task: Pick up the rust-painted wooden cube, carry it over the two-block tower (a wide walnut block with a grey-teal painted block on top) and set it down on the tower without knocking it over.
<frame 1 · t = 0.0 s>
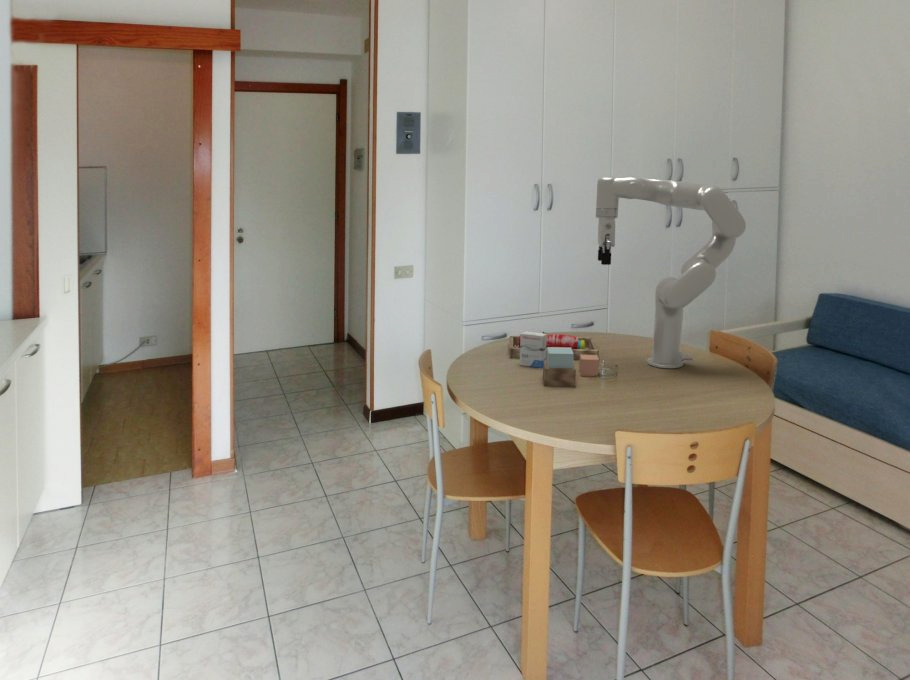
hand: (604, 262, 251), 37 cm above the table, tool pointing down, fingers open, 9 cm apart
teal block: (559, 364, 236), point 6 cm above the table
bottle cradle: (552, 352, 274), on the table
water bottle: (552, 353, 274), resting in bottle cradle
rust cube: (588, 373, 247), on the table
walnut block: (558, 382, 238), on the table
ink box: (532, 365, 257), on the table
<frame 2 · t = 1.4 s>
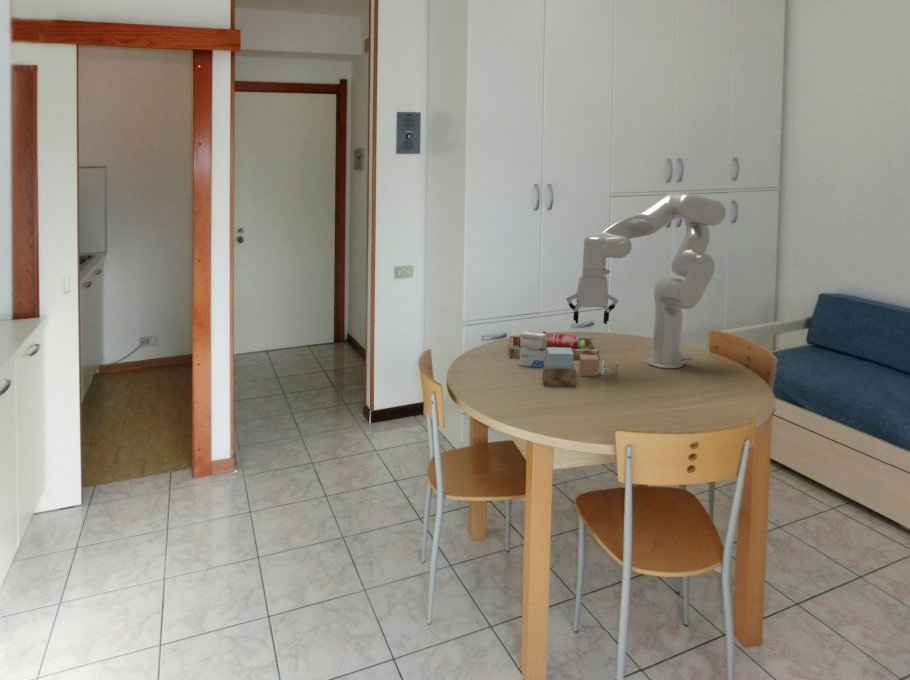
hand: (590, 322, 242), 18 cm above the table, tool pointing down, fingers open, 9 cm apart
teal block: (559, 365, 236), point 6 cm above the table, touching walnut block
walnut block: (558, 382, 238), on the table, touching teal block
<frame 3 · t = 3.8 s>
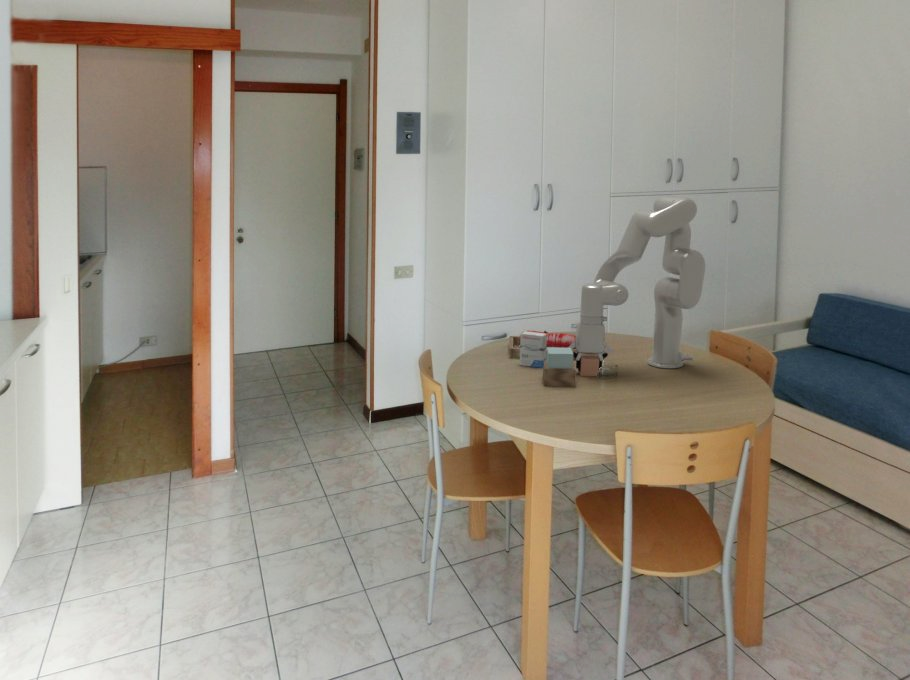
hand: (588, 370, 247), 1 cm above the table, tool pointing down, fingers closed on rust cube, 6 cm apart
water bottle: (552, 351, 276), resting in bottle cradle
rust cube: (588, 373, 247), on the table, touching gripper
everything else where it was.
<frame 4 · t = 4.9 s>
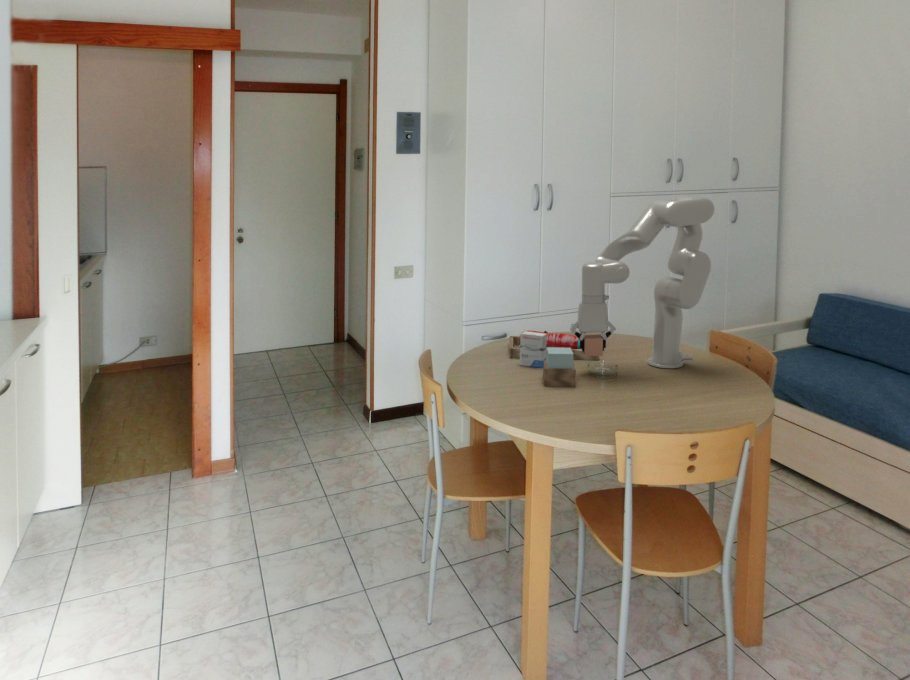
hand: (592, 349, 245), 8 cm above the table, tool pointing down, fingers closed on rust cube, 6 cm apart
rust cube: (592, 353, 245), point 7 cm above the table, touching gripper
everything else where it was.
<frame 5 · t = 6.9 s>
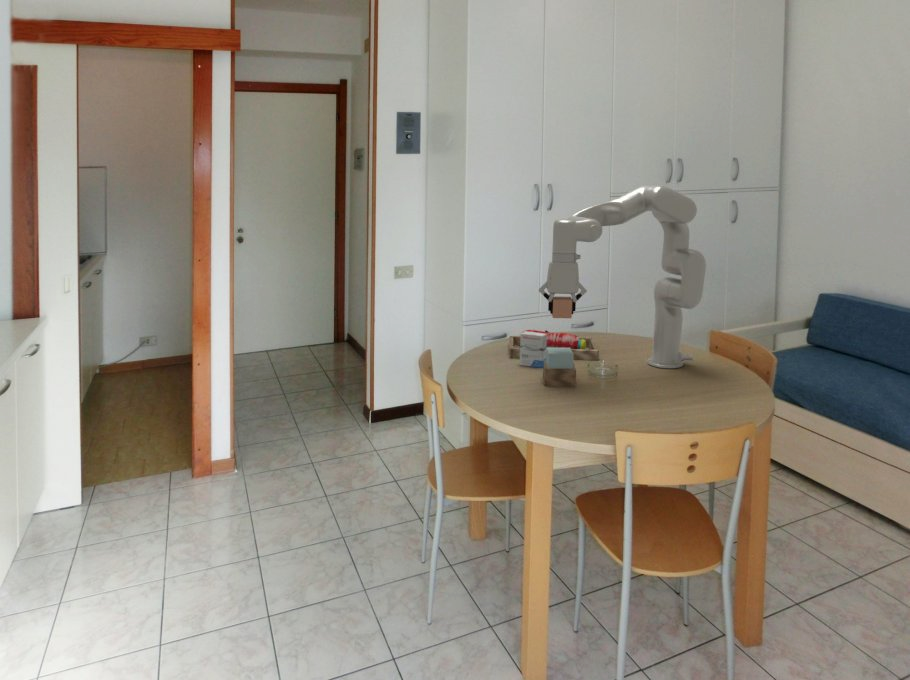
hand: (561, 312, 232), 23 cm above the table, tool pointing down, fingers closed on rust cube, 6 cm apart
water bottle: (553, 351, 276), resting in bottle cradle
rust cube: (561, 316, 232), point 22 cm above the table, touching gripper
everything else where it was.
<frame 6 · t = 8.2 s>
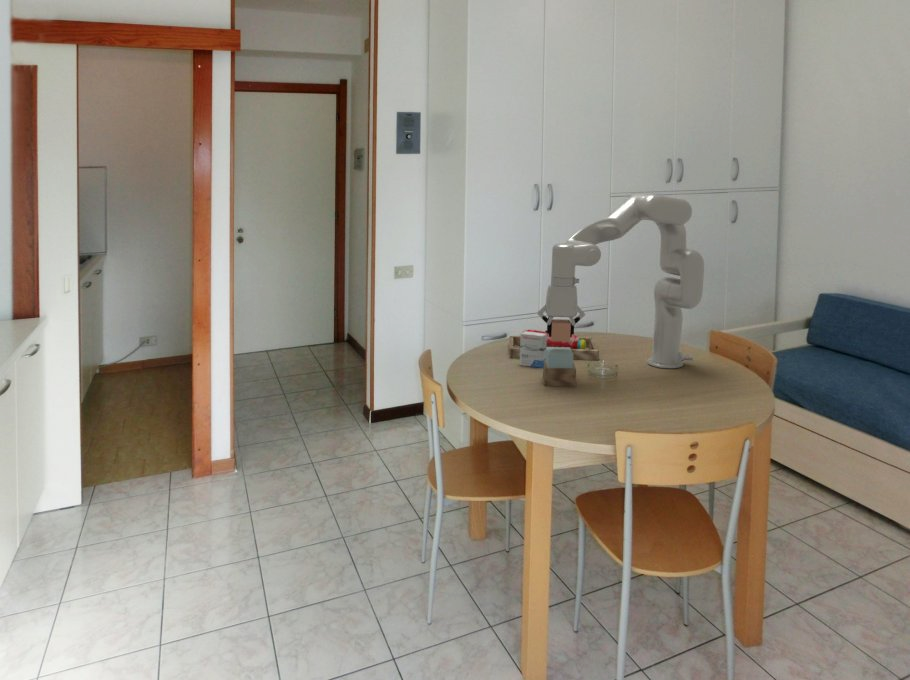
hand: (560, 335, 234), 16 cm above the table, tool pointing down, fingers closed on rust cube, 6 cm apart
water bottle: (553, 351, 276), resting in bottle cradle
rust cube: (560, 339, 234), point 15 cm above the table, touching gripper
everything else where it was.
when the fingers open (13 cm above the table, at t = 9.6 s): rust cube drops 1 cm, resting on teal block.
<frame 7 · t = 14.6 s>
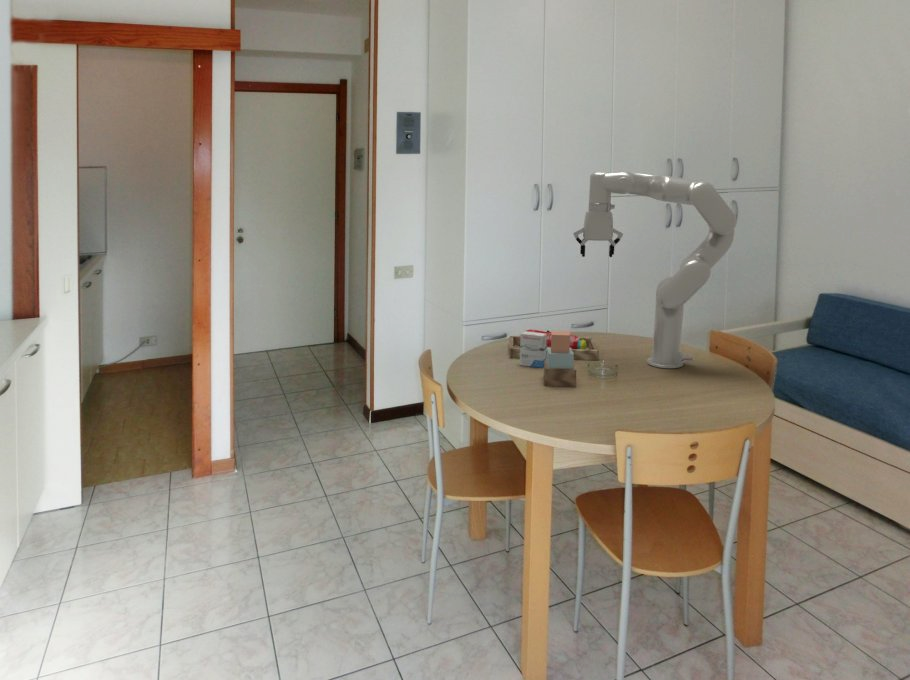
hand: (596, 256, 254), 38 cm above the table, tool pointing down, fingers open, 9 cm apart
teal block: (559, 365, 236), point 6 cm above the table, touching rust cube, walnut block
rust cube: (560, 350, 235), point 11 cm above the table, touching teal block
at the end: rust cube 0.3 cm from the teal block (horizontally); rust cube point 10.7 cm above the table; rust cube tilted 0° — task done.
